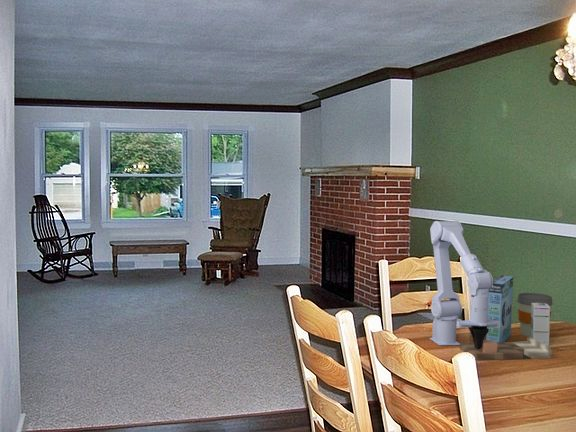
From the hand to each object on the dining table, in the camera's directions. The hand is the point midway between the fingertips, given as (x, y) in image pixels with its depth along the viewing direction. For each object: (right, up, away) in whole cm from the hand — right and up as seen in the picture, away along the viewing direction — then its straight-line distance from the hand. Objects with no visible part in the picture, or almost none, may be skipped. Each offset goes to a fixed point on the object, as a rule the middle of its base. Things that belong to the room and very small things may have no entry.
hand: (477, 348), depth 212 cm
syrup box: (+28, -2, +18) cm, 33 cm away
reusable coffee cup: (+31, -1, +32) cm, 44 cm away
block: (+3, -1, 0) cm, 4 cm away
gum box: (+14, -2, +21) cm, 26 cm away
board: (+10, -3, +5) cm, 11 cm away
